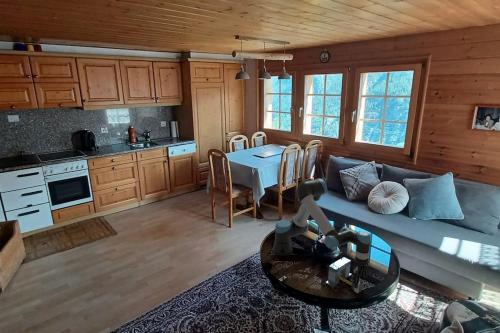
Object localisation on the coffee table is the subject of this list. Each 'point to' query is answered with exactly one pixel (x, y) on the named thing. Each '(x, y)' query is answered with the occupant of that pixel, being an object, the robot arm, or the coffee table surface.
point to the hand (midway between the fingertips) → (358, 290)
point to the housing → (338, 271)
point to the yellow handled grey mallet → (353, 283)
